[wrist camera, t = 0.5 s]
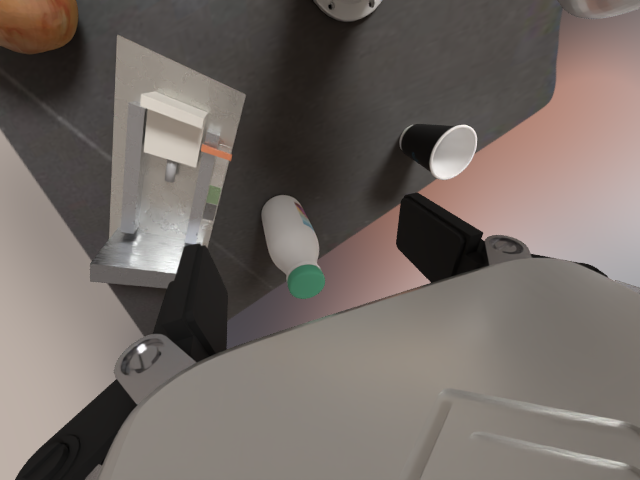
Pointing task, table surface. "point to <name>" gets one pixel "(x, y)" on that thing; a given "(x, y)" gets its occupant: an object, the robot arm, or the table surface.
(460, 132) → the dixie cup
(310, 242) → the milk bottle
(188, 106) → the white stepped block
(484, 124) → the table surface
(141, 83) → the bench
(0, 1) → the potato
